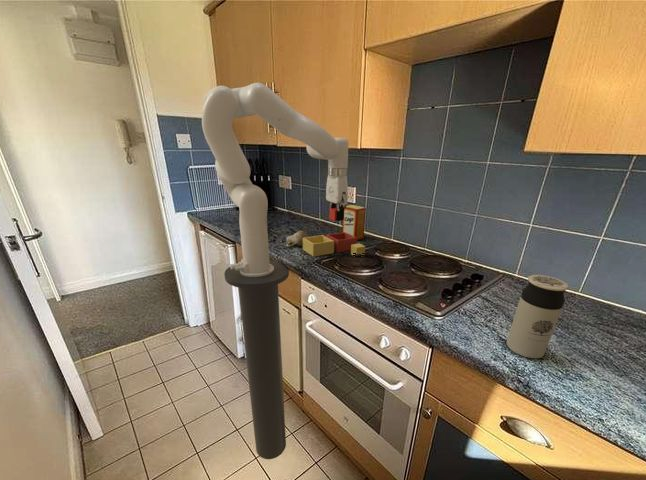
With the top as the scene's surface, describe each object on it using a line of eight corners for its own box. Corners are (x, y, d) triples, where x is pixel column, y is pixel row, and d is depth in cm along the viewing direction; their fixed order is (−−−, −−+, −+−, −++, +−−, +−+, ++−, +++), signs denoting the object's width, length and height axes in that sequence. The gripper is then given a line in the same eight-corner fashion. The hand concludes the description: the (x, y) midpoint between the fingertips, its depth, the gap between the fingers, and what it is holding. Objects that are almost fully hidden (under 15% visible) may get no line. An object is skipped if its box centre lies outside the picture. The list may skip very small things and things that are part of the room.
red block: (334, 221, 122) (335, 210, 120) (329, 218, 125) (329, 208, 123) (344, 220, 124) (344, 209, 122) (338, 217, 127) (338, 207, 125)
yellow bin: (313, 256, 127) (313, 244, 125) (302, 249, 135) (302, 237, 133) (333, 253, 132) (334, 241, 130) (322, 246, 140) (322, 235, 138)
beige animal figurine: (288, 241, 145) (299, 224, 142) (303, 253, 143) (314, 236, 140) (280, 242, 139) (291, 224, 135) (296, 254, 136) (307, 236, 133)
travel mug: (504, 335, 78) (524, 271, 70) (540, 343, 75) (564, 278, 68) (507, 353, 71) (530, 284, 64) (547, 363, 68) (575, 292, 61)
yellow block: (356, 257, 128) (357, 247, 126) (350, 254, 131) (351, 244, 129) (364, 255, 130) (365, 246, 128) (358, 252, 133) (359, 243, 132)
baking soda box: (341, 236, 156) (342, 205, 149) (350, 234, 160) (351, 204, 153) (355, 240, 150) (357, 208, 143) (363, 238, 154) (365, 207, 147)
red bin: (337, 252, 133) (337, 240, 131) (326, 245, 141) (326, 234, 139) (356, 249, 138) (357, 237, 136) (344, 243, 146) (344, 232, 144)
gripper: (319, 171, 122) (319, 215, 129) (340, 175, 108) (339, 224, 116) (335, 170, 125) (334, 214, 133) (357, 174, 112) (355, 222, 119)
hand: (336, 218), depth 124 cm, fingers closed on red block, 4 cm apart
